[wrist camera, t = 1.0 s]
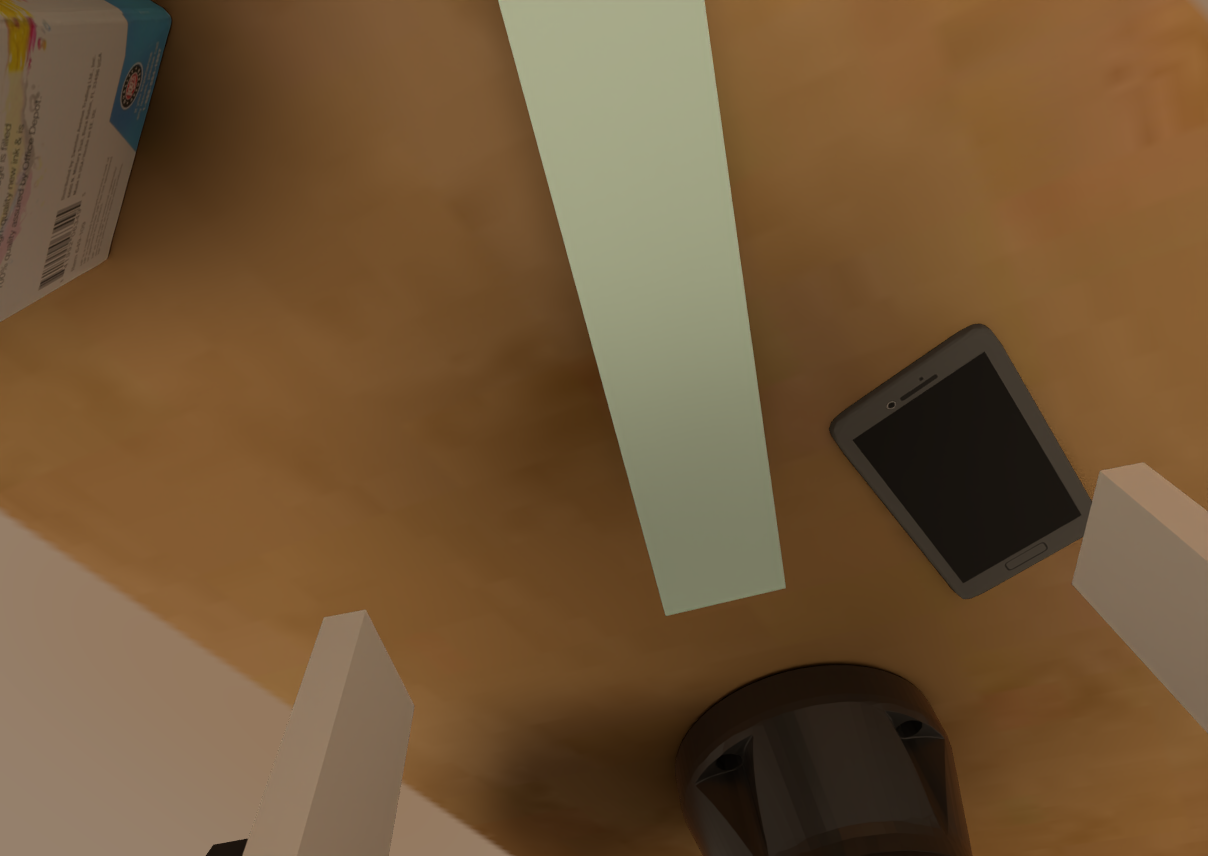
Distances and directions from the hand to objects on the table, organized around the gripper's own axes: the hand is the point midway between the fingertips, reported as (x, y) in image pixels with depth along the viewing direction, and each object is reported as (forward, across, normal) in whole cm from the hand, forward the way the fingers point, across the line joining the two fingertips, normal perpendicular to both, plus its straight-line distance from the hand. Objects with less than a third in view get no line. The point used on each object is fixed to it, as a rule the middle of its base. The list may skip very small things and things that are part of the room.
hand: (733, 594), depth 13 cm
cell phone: (+16, -13, +11) cm, 23 cm away
